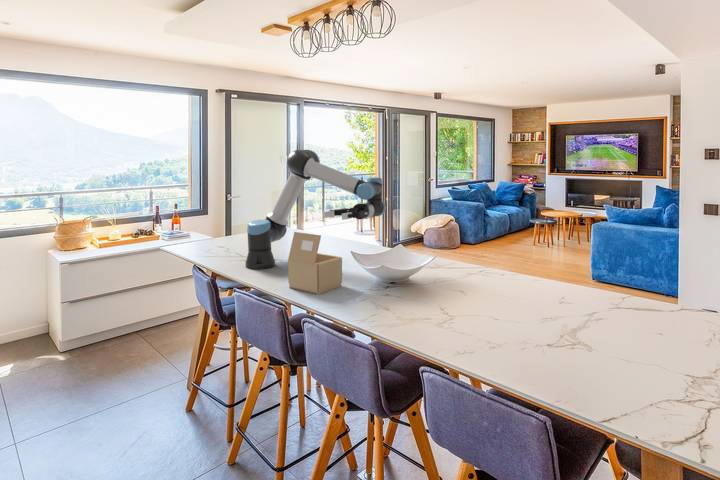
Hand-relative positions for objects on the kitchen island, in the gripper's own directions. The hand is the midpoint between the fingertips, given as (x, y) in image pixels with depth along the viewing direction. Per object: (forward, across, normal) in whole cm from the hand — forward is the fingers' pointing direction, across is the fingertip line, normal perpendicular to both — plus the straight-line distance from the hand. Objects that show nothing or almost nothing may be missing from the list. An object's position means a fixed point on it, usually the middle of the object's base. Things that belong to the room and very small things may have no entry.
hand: (333, 215), depth 211 cm
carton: (+13, 0, -30) cm, 33 cm away
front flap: (+21, 0, -17) cm, 27 cm away
